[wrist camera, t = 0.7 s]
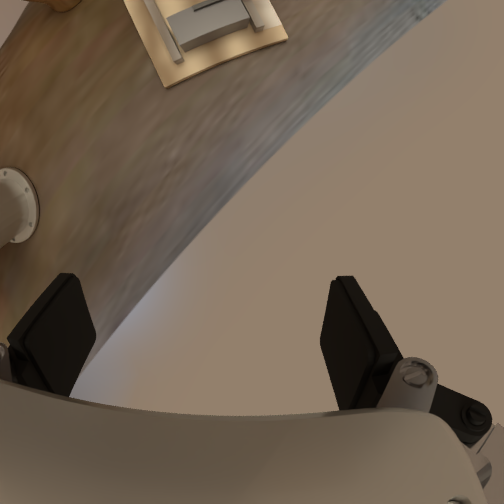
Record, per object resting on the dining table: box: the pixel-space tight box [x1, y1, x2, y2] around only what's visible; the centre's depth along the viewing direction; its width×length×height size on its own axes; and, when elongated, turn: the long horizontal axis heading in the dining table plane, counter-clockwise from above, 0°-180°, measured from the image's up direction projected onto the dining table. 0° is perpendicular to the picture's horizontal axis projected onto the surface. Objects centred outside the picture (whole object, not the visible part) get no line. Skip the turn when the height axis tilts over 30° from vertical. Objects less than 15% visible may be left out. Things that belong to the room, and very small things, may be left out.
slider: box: [166, 0, 250, 52], centre depth 25 cm, size 12×4×5 cm, turn 113°
